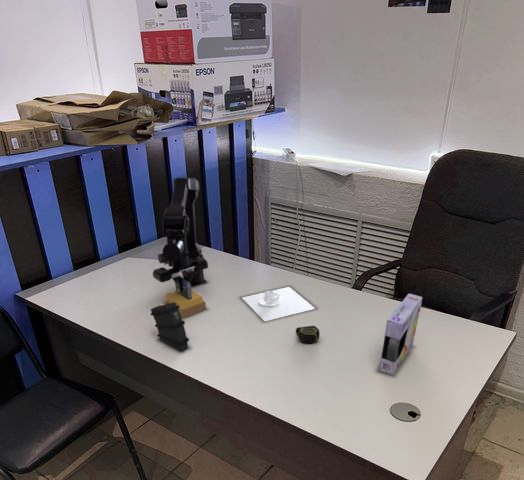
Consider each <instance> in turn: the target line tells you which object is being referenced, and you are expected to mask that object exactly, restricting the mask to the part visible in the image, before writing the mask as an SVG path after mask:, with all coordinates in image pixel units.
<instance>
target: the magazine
mask: <svg viewBox="0 0 524 480" xmlns="http://www.w3.org/2000/svg"><path fill="white" fill-rule="evenodd" d="M178 308H180V307H179V305H176V303H175V302H174V303H169V304H161V305H160V304H159V305H157V306H155V307H153V308H150V316H152V317H153V319H154V322H155V324H154V327H155V328H157V331H158V334H156V336H157V337H158V338H159V341H161V342H162V343H164V344H166V345H167V346H170V347H171V348H173V349H175V350H177V351H178V352H184V351H185V350H187V349H188V348H189V344H188V343H189V341H190V338H189V337H187V333H186V328H185V325H186V322H185V320H183V318H181V315H180V312H179V310H178Z"/></svg>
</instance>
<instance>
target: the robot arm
mask: <svg viewBox="0 0 524 480" xmlns="http://www.w3.org/2000/svg"><path fill="white" fill-rule="evenodd" d="M172 183H173V184H172V185H173V191H172V197H171V202H170V205H168V206H167V207H166V208H165V210H164V213H163V215H162V218H161V219H162V221H161V222H162V223H161V237H162V238H166V242H165V244H164V246H163V248H162V253H159V254H157V260H158V263H159V264H164V265H167V266H168V267H170V268H168V269H167V268H166V267H164V266H161V267H159V268H155V269H153V271H152V276H153V277H152V278H154V280H157V281H158V282H160V283H165V282H169V281H170V280H172V281H173V282H174V284H175V283H176V285H177V287H178V289H179V291H180V292H181V293H182V292H183V283H182V278H183V279H185V280H186V281H188V282H190V284H191V287H197V286H199V285H202V284H206V283H207V280H206V279H205V277H204V270H206V269H208V268H209V262H208V261H207V260H206V258H205V256H204V254H203V251H202V248H201V246H200V245H199V243H198V240H197V239H198V238H197V226H196V211H195V210H196V209H195V208H196V207H195V202H196V200H197V198H198V197H199V192H200V182H199V181H198V180H197V179H196V178H195V177H185V176H183V177H181V176H180V177H175V178H173V180H172ZM180 273H181V274H182V276H181V275H180Z"/></svg>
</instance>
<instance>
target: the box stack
mask: <svg viewBox="0 0 524 480" xmlns="http://www.w3.org/2000/svg"><path fill="white" fill-rule="evenodd" d="M191 293H192V299H189V300H188V299H186V298H184V297H183V296H181V295H180V294H178V293H177V292H176V291H172V292H170V293H167V294H166V295H165V297H166V300H165V301H164V302H163V303H164V304H163V305H165V304H169V303H174V302H175V303H176V305H179V307H180V308H178V310H179V312H180V315H181V318H182V319H184V318H187V317H189V316H192V315H194V314H195V315H196V314H198V313H200V312H203V311H205V310H207V305H206V301H204V300H203V295H201V294H199V293H198V292H196V291H195V290H193V289H191Z"/></svg>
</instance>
